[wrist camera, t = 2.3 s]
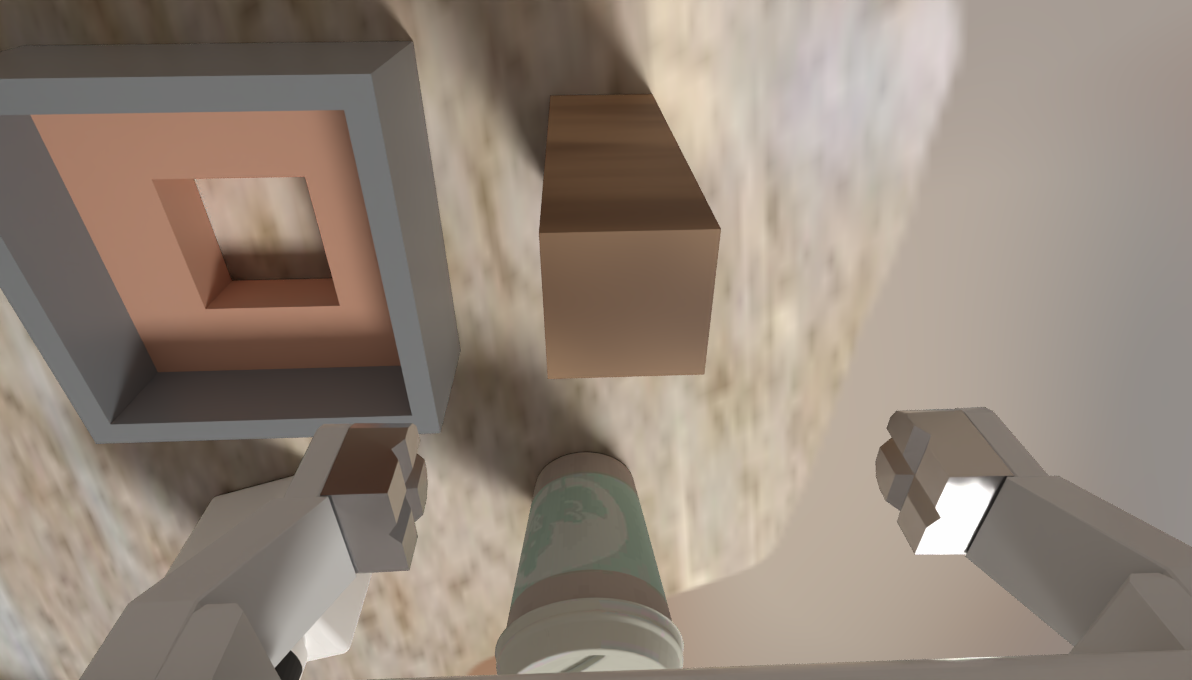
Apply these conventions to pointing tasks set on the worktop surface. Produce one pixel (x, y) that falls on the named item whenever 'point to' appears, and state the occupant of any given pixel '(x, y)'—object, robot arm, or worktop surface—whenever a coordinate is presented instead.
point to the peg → (623, 243)
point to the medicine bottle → (335, 623)
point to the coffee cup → (587, 578)
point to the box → (190, 250)
